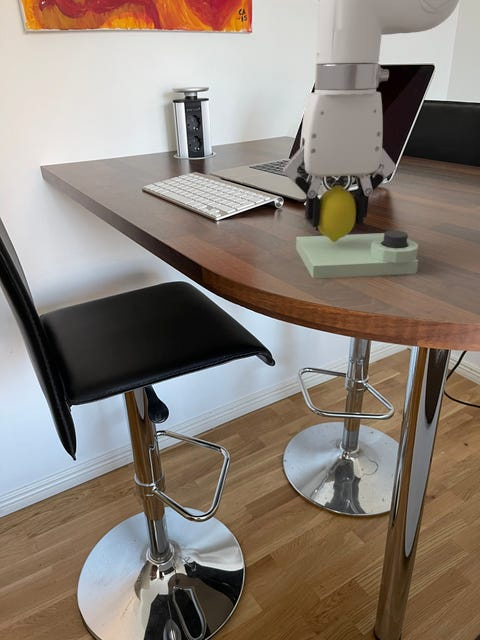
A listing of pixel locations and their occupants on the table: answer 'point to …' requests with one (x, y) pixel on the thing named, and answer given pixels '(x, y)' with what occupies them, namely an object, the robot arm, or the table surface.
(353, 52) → the robot arm
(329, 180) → the watch
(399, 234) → the button
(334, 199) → the lemon
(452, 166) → the table surface
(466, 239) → the table surface
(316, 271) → the scale
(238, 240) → the table surface
